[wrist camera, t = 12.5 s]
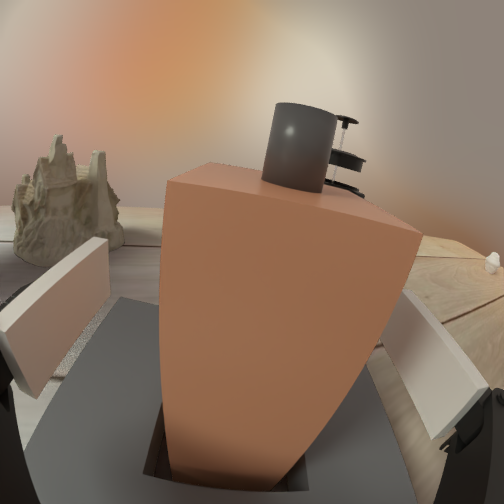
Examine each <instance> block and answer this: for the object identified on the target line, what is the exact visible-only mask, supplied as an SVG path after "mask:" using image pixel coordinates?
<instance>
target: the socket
mask: <svg viewBox="0 0 504 504" xmlns="http://www.w3.org/2000/svg"><path fill="white" fill-rule="evenodd" d="M164 430H165V423H164V413H163V402H162V388H161V372H160V347H159V305H154V304H150V303H145V302H141V301H136V300H132V299H128V298H124V297H120V298H119V300H118V301H117V302H116V304H115V305H114V306H113V308H112V309H111V310H110V312H109V313H108V315H107V316H106V317H105V319H104V320H103V322H102V323H101V324H100V326H99V327H98V329H97V330H96V331H95V333H94V334H93V336H92V337H91V339H90V340H89V342H88V343H87V345H86V346H85V348H84V349H83V351H82V352H81V354H80V355H79V357H78V358H77V360H76V361H75V363H74V364H73V366H72V367H71V369H70V371H69V372H68V374H67V375H66V377H65V379H64V380H63V382H62V383H61V385H60V387H59V388H58V390H57V392H56V393H55V395H54V397H53V398H52V400H51V402H50V404H49V405H48V407H47V409H46V411H45V412H44V414H43V416H42V418H41V420H40V421H39V423H38V425H37V427H36V429H35V431H34V433H33V435H32V437H31V439H30V441H29V442H28V445H27V447H26V449H25V451H24V456H25V460H26V463H27V467H28V470H29V473H30V476H31V479H32V482H33V485H34V488H35V491H36V493H37V496H38V498H39V501H40V503H41V504H418V503H417V499H416V496H415V493H414V490H413V487H412V483H411V480H410V477H409V474H408V471H407V468H406V465H405V463H404V460H403V457H402V454H401V451H400V448H399V446H398V443H397V440H396V438H395V435H394V432H393V430H392V427H391V424H390V422H389V419H388V417H387V414H386V412H385V409H384V407H383V404H382V402H381V399H380V397H379V394H378V392H377V390H376V387H375V385H374V382H373V380H372V378H371V375H370V373H369V371H368V368H367V366H366V364H365V365H364V367H363V369H362V371H361V372H360V374H359V376H358V377H357V379H356V380H355V382H354V384H353V385H352V387H351V388H350V390H349V392H348V393H347V395H346V396H345V398H344V399H343V401H342V402H341V404H340V405H339V407H338V408H337V410H336V411H335V413H334V414H333V415H332V417H331V418H330V420H329V421H328V422H327V424H326V425H325V427H324V428H323V429H322V431H321V432H320V433H319V435H318V436H317V437H316V438H315V440H314V441H313V442H312V444H311V445H310V446H309V447H308V449H307V450H306V451H305V452H304V454H303V455H302V456H301V457H300V458H299V460H298V461H297V462H296V463H295V464H294V465H293V467H292V468H291V469H290V470H289V471H288V472H287V483H288V492H251V491H235V490H224V489H215V488H207V487H200V486H194V485H188V484H183V483H177V482H173V481H168V480H164V479H159V478H155V477H153V476H154V472H155V468H156V463H157V459H158V455H159V450H160V446H161V442H162V438H163V434H164Z"/></svg>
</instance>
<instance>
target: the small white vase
mask: <svg viewBox="0 0 504 504" xmlns="http://www.w3.org/2000/svg"><path fill="white" fill-rule="evenodd" d="M499 267H500V263H499V255H498V254H497V252H496V253H495V252H492V253H491V255H489V256H488V257H486V262H485V270H486V271H487V272H488V273H490V274H493V273H494V272H495V271H497V270H498V268H499Z"/></svg>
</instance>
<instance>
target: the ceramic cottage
mask: <svg viewBox="0 0 504 504" xmlns="http://www.w3.org/2000/svg"><path fill="white" fill-rule="evenodd" d="M62 138H63V135H54V137H53V141H52V144H51V147H50V151H49V156H47V157H39V159H38V162H37V165H36V169H35V171H34V175H33V180H32V179H31V180H30V176H29V175H28V174H24V175H23V177H22V184H20V185H16V189H15V194H14V198H13V203H12V206H11V210H12V211H13V212H14V213H15V222H16V231H15V235H14V240H13V242H14V247H13V248H14V253H15V254H16V255H17V256H18V257H21V258H23V260H25V261H26V262H28V263H30V264H31V263H32V264H34V265H36V266H41V267H53V266H55V265H56V264H57V263H58V262H60V261H61V260H62V259H64V258H65V257H66V256H68V255H69V254H70V253H72V252H73V251H74V250H76V249H77V248H78V247H80V246H81V245H83V244H84V243H85V242H87V241H88V240H90V239H91V238H92V237H99V238H104V239H108V250H109V251H112V250H114V249H117V248H119V247H121V246H122V245H123V244H124V243H125V242H124V235H123V229H122V226H121V224H120V223H119V222H117V220H118V214H119V212H118V210H117V208H116V204H117V203H118V202H119V201H120V199H118V198H117V195H115V193H114V191H113V189H112V188H111V187H110V185H109V184H108V181H107V171H106V160H105V159H106V158H105V152H104V151H97V150H95V151H93V153H92V156H91V160H90V166H83V165H79V164H78V166H75V161H74V158H73V152H72V153H67V147H66V144H62Z"/></svg>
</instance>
